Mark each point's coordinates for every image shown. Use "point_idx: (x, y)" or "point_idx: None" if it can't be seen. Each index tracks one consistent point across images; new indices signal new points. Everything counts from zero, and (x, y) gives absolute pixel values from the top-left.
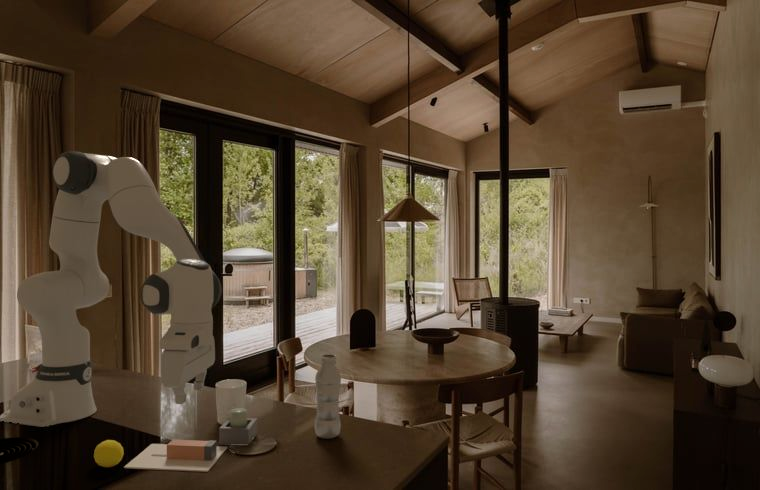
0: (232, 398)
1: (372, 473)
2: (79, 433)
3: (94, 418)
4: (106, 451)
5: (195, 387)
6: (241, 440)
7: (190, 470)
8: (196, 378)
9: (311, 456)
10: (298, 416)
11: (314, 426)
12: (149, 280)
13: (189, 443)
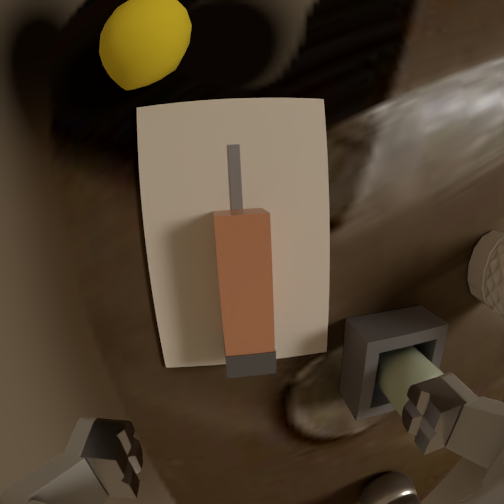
0: None
1: None
2: None
3: None
4: (103, 47)
5: (417, 401)
6: (346, 384)
7: (158, 321)
8: (480, 416)
9: (289, 496)
10: (483, 395)
11: (388, 484)
12: None
13: (242, 296)
